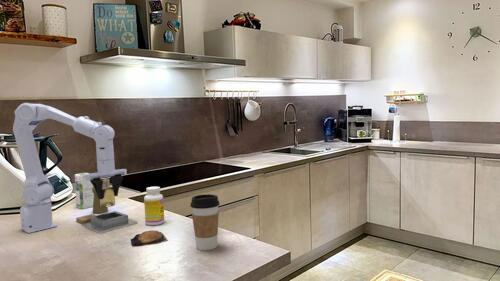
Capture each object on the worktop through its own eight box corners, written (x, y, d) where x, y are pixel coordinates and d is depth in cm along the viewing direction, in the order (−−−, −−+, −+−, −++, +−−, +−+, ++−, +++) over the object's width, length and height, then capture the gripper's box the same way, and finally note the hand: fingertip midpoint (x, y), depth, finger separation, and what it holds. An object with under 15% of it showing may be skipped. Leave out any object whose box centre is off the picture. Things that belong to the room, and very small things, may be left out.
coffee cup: (196, 254, 101) (194, 200, 100) (189, 244, 109) (186, 194, 108) (225, 248, 105) (223, 196, 103) (216, 239, 112) (214, 191, 111)
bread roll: (163, 235, 120) (162, 224, 120) (168, 243, 112) (168, 231, 112) (129, 241, 116) (128, 229, 115) (132, 249, 108) (131, 237, 108)
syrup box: (75, 207, 159) (73, 174, 158) (89, 204, 164) (87, 172, 163) (81, 209, 155) (79, 175, 154) (95, 206, 160) (93, 173, 159)
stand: (83, 224, 133) (83, 220, 133) (76, 221, 137) (76, 217, 137) (99, 220, 138) (99, 216, 137) (92, 217, 142) (92, 214, 142)
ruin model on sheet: (107, 198, 178) (106, 178, 177) (101, 198, 177) (99, 178, 176) (111, 193, 189) (110, 174, 188) (104, 193, 188) (103, 174, 187)
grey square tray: (99, 233, 122) (99, 224, 122) (81, 225, 132) (81, 217, 132) (137, 223, 133) (137, 214, 132) (118, 216, 142) (117, 208, 142)
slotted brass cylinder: (105, 207, 128) (104, 190, 128) (97, 205, 132) (96, 188, 131) (118, 204, 132) (117, 187, 132) (110, 202, 136) (109, 186, 135)
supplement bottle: (163, 225, 129) (161, 189, 128) (144, 226, 128) (142, 190, 127) (165, 219, 136) (163, 185, 135) (146, 221, 135) (144, 186, 134)
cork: (103, 209, 154) (102, 183, 154) (111, 211, 150) (109, 184, 150) (89, 212, 150) (87, 185, 149) (96, 214, 146) (95, 187, 145)
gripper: (90, 162, 122) (93, 203, 123) (130, 157, 133) (132, 194, 134) (81, 161, 127) (83, 200, 128) (120, 156, 138) (122, 192, 139)
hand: (108, 197), depth 131 cm, fingers closed on slotted brass cylinder, 5 cm apart
